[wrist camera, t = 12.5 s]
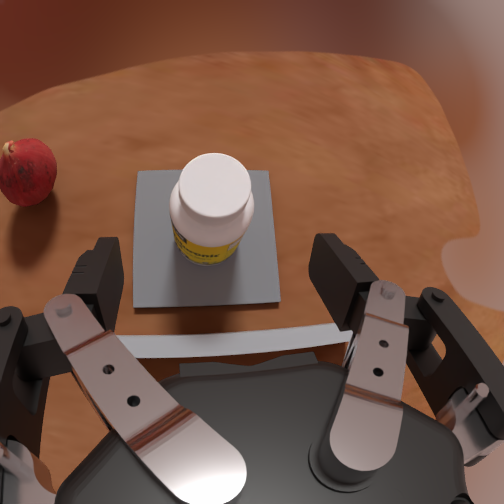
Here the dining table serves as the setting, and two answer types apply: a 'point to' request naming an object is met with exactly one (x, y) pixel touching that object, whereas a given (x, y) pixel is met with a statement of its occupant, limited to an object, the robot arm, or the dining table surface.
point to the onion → (27, 171)
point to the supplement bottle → (211, 208)
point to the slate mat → (193, 275)
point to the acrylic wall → (233, 342)
